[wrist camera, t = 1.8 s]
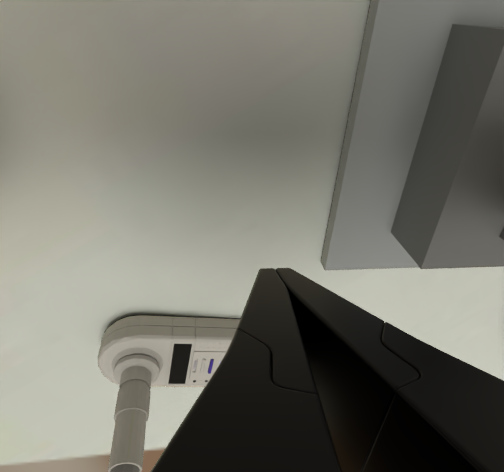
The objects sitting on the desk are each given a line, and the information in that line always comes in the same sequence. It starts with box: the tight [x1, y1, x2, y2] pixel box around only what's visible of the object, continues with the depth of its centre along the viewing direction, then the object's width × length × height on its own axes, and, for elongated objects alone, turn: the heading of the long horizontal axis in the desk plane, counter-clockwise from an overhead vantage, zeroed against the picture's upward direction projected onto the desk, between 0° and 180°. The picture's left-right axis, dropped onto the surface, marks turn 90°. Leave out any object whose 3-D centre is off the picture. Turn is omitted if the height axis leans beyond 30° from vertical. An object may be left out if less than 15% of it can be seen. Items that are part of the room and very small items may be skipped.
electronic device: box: [98, 315, 240, 472], centre depth 26 cm, size 5×10×15 cm
